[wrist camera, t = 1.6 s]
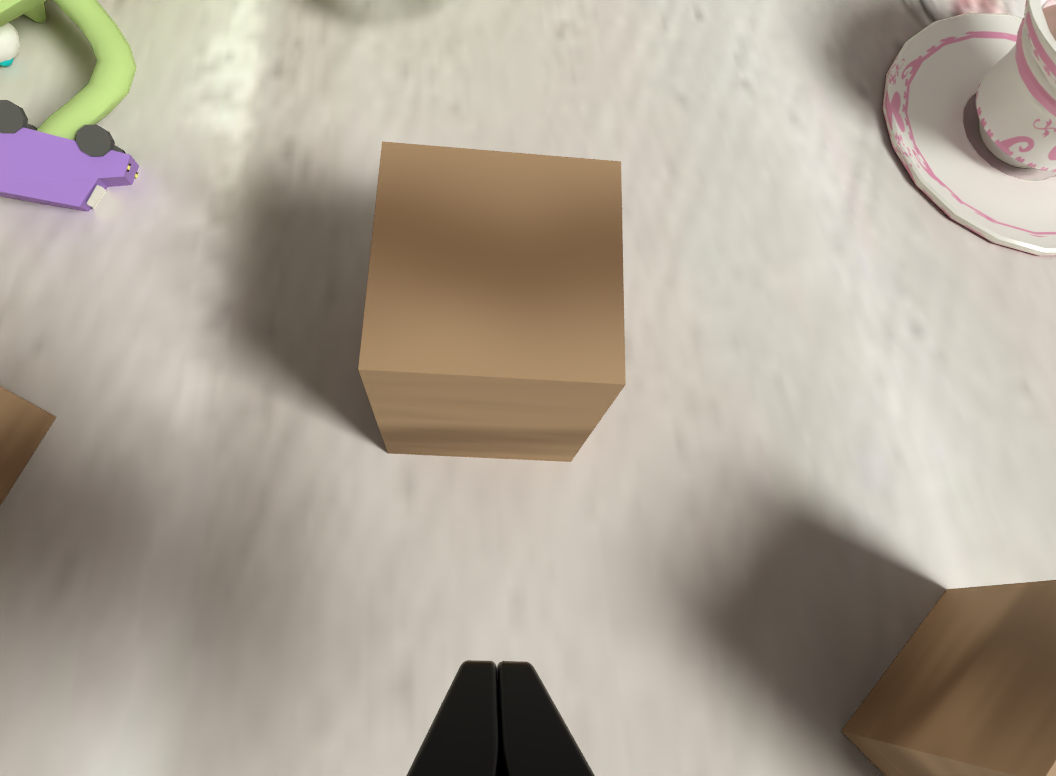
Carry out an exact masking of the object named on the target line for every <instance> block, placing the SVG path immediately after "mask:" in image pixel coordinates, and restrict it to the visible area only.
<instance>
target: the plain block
mask: <svg viewBox="0 0 1056 776" xmlns="http://www.w3.org/2000/svg"><path fill="white" fill-rule="evenodd" d="M358 371H359V373H360V376H361V379H362V382H363V385H364V387H365V390H366V393H367V396H368V399H369V402H370V404H371V407H372V410H373V413H374V416H375V419H376V421H377V424H378V427H379V430H380V433H381V436H382V438H383V441H384V444H385V447H386V450H387V452H388V453H393V454H415V455H437V456H458V457H480V458H501V459H523V460H544V461H566V462H571V461H572V459H573V458H574V456H575V455H576V454H577V452H578V451H579V449H580V448H581V447H582V445H583V444H584V442H585V441H586V439H587V438H588V437H589V435H590V434H591V432H592V431H593V430H594V428H595V427H596V425H597V424H598V423H599V421H600V420H601V418H602V417H603V415H604V414H605V413H606V411H607V410H608V408H609V407H610V406H611V404H612V403H613V401H614V400H615V399H616V397H617V396H618V394H619V393H620V391H621V390H622V389H623V387H624V386H625V339H624V290H623V241H622V192H621V162H619V161H607V160H596V159H584V158H572V157H560V156H548V155H536V154H524V153H512V152H500V151H488V150H476V149H464V148H452V147H440V146H428V145H416V144H405V143H393V142H382V148H381V158H380V167H379V177H378V186H377V196H376V205H375V215H374V224H373V234H372V243H371V252H370V262H369V271H368V281H367V290H366V300H365V309H364V319H363V328H362V338H361V347H360V356H359V366H358Z"/></svg>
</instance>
